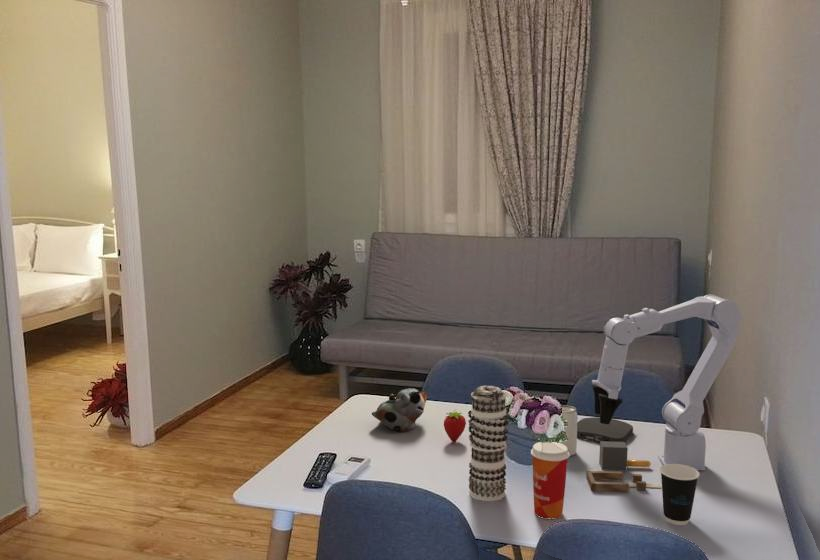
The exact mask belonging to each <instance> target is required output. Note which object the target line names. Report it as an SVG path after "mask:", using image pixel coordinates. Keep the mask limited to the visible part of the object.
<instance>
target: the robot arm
mask: <svg viewBox="0 0 820 560" xmlns="http://www.w3.org/2000/svg"><path fill="white" fill-rule="evenodd" d="M694 317H695V318H699V319H703V320H704V322H706V323H707V325H708V328H709V330H710V333H711V338H710V339H709V341H708V343H707V345H706V347H705V348H704V351H703V352H702V354H701V356H700V358H699V359H698V361H697V363H696V365H695V367H694V368H693V370H692V372H691V374H690V375H689V377H688V379H687V381H686V383H685V385H684V386H683V388H682V390H679V391H677V392H675V393H674V394H673V396H672V398H671V399H669V401H667V402H666V403H665V404H664V405H663V406H662V409H661V415H662V418H663V420H664V421H665V427H664V428H665V429H664V430H665V431H664V446H663V448H664V449H663V455H658V459H659V460H660V462H661V463H662V464H663V465H667V464H680V465H686V466H689V467H692V468H694V469H696V470H697V471H706V468H705V465H706V464H705V463H706V462H705V460H706V450H707V449H706V447H707V445H706V436H705V434H704V432H703V431H702V430H699V429H700V427H701V424H702V417H703V415H704V413H705V408H704V407H705V406H704V400H705V399H706V396H707V394H709V393H708V392H709V391H710V389H711V387H712V385H713V383H714V382H715V380H716V379H717V377H718V375H719V374H720V371H721V369H723V366H724V364H726V363H725V362H726V361H727V359H728V357H729V355H730V354H731V352H732V350H733V348H734V346H735V344H736V343H737V341H738V338H739V323H740V320H741V319H742V317H743V316H742V313H741V311H740V309H739V306H738V305H737V303H736V302H734V301H733V300H729V299H726V298H722V297H719V296H718V295H716V294H712V293H711V294H706V295H703V296H702V295H701V296H696V297H694V298H693V299H690V300H687V301H685V302H681V303H679V304H676V305H673V306H671V307H668V308H667V307H666V308H665V309H662V310H660V311H658V310H657V309H654V308H648V307H644V308H642V309H641V311H639V312H636V313H633V314H632V313H631V314H630V315H629V314H624V315H623V318H622V317H612V318H610V319H608V321H607V322H606V324H605V325H604V326H603V333H604V335H605V341H604V345H603V349H602V354H601V359H600V365H599V370H598V374H597V378H596V379H592V380H591V383H592V385H591V387H592V391H593V400H594V401H593V402H594V405H593V406H594V407H593V408H594V415H595V414H596V415H599V417H600V423H603V424H609V423H610V421H611V419H613V417H614V415H615V412H616V411H617V409H618V407H620V405H621V404H623V402H624V401H623V399H622V398H621V397H620V398H619V393H620V391H621V389H622V380H623V375H624V370H625V365H626V360H627V356H628V350H629V346H630V344H631V343H633V341H634V340H635V339H637V338H640V337H644V336H646V335H650V334H653V333H656V332H660V331H661V329H662V327H663V326H664V325H667V324H670V323H675V322H678V321H683V320H687V319H691V318H694ZM663 465H662V466H663Z"/></svg>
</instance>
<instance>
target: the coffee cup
mask: <svg viewBox="0 0 820 560" xmlns="http://www.w3.org/2000/svg"><path fill="white" fill-rule="evenodd" d="M530 455H531V456H532V459H531V460H532V484H533V485H532V487H533V488H532V489H533V491H532V492H533V510H534V514H535V513H536V514H537V515H538V516H540V517H543V518H542V519H544V518H551V519H550V520H553V519H552V518H557V519H559V517H560V518H561V517H562V516H563V512H564V511H563V510H564V502H565V501H564V500H565V493H566V492H565V491H566V482H567V481H566V480H567V471H568V470H567V469H568V461H569V460H568V458H569V457H571V456H570V454H569V452H568V449H567V447H566V446H565V445H563V444H561V443H557V442H552V441H551V442H550V441H543V442H541V441H539V442H536V443H535V444H533V446H532V449H531V450H530ZM536 514H535V515H536ZM537 515H536V516H537ZM561 515H562V516H561ZM538 516H537V517H538ZM540 517H539V518H540Z"/></svg>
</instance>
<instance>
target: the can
mask: <svg viewBox="0 0 820 560" xmlns="http://www.w3.org/2000/svg"><path fill="white" fill-rule="evenodd" d="M560 406H561V408H562V415H563V419H567V421H568V426H567V427H564V430H565V432H566V434H567V436H568V439H569V440H568V441H565V442H559V443H561V444H563V445H565V446H566V447H567V449H568V452H569V454H570V456H569V457H571V456H574V455H576V453H577V446H578V445H577V442H578V438H577V422H578V413H577V408H576V407H574V406H571V405H564V404H563V405H560Z"/></svg>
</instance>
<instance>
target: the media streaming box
mask: <svg viewBox="0 0 820 560" xmlns="http://www.w3.org/2000/svg"><path fill="white" fill-rule="evenodd" d="M633 435H634V426H633V425H632V424H630V423H627V422H625V421H622V420H619V419H615V418H612V419H611V421H610V423H609V424H603V423H600V416H599V417H598V416H597V417H593V416H592V417H585V418H581V419H580V420H579V421H578V420H577V439H580V440H585V441H590V442H595V443H599V444H600V441H608V442H625V443H626V442H627V441H628V440H629V439H630V438H631V437H632V436H633Z"/></svg>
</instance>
